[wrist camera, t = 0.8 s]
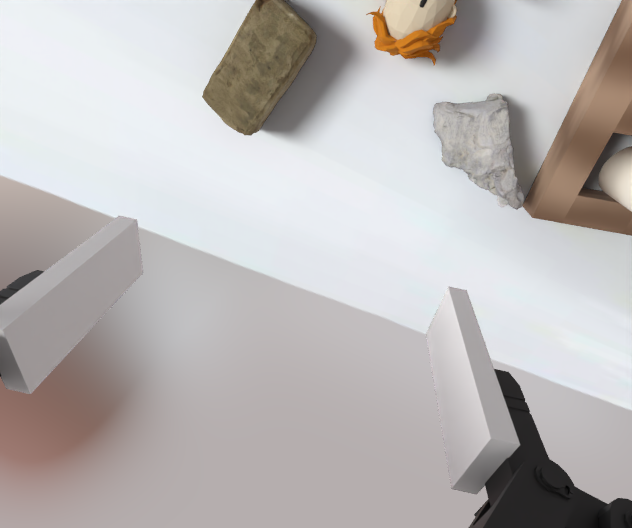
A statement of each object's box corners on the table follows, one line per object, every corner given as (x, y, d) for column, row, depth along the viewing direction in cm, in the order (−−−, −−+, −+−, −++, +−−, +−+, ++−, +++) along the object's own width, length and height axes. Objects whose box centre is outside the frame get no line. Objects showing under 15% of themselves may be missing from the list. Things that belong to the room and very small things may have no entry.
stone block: (325, 35, 34) (317, 36, 30) (259, 133, 40) (245, 146, 36) (274, -13, 33) (259, -18, 29) (213, 97, 38) (193, 105, 34)
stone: (455, 212, 42) (464, 229, 38) (425, 107, 36) (432, 116, 33) (516, 192, 40) (531, 208, 36) (495, 77, 34) (509, 84, 31)
